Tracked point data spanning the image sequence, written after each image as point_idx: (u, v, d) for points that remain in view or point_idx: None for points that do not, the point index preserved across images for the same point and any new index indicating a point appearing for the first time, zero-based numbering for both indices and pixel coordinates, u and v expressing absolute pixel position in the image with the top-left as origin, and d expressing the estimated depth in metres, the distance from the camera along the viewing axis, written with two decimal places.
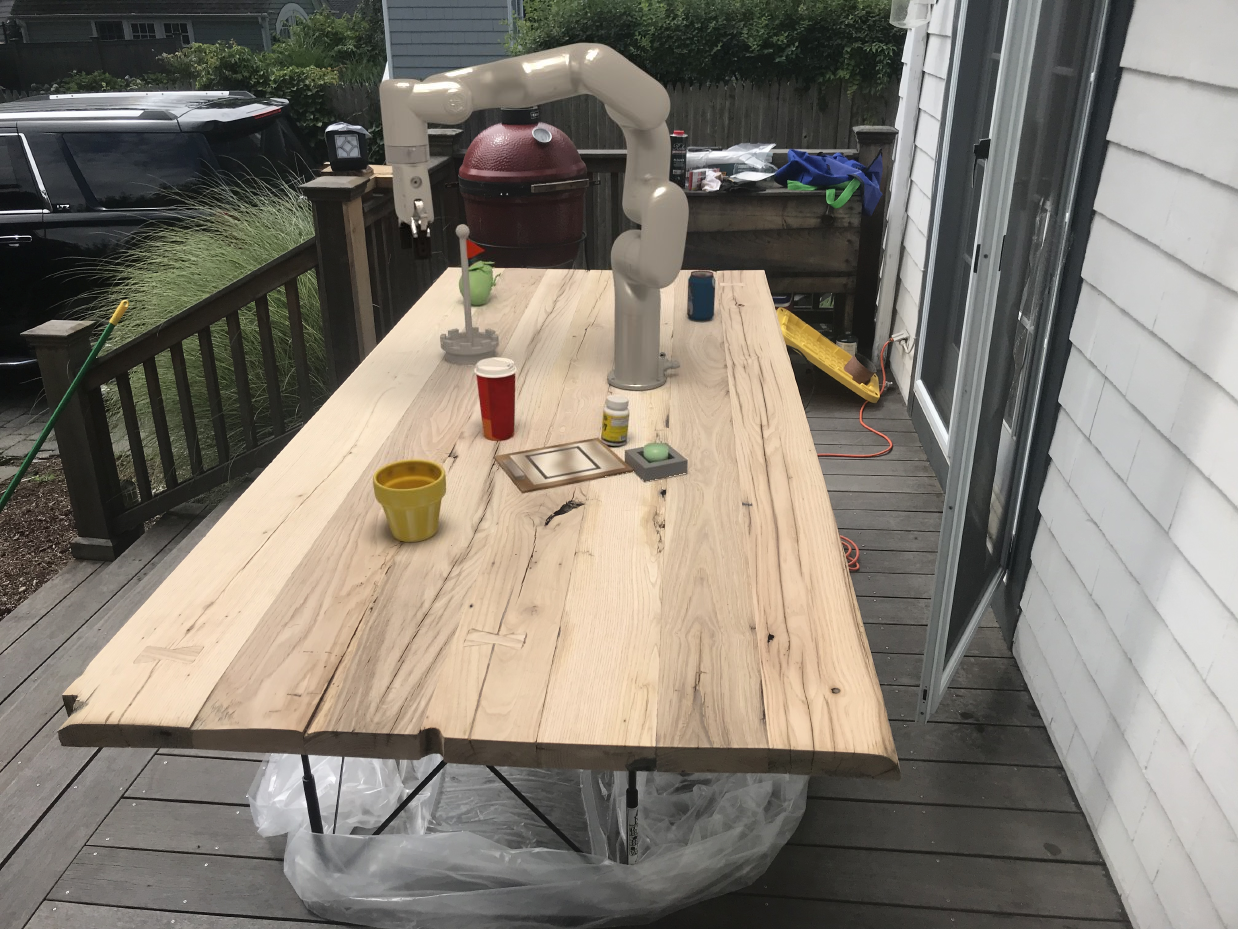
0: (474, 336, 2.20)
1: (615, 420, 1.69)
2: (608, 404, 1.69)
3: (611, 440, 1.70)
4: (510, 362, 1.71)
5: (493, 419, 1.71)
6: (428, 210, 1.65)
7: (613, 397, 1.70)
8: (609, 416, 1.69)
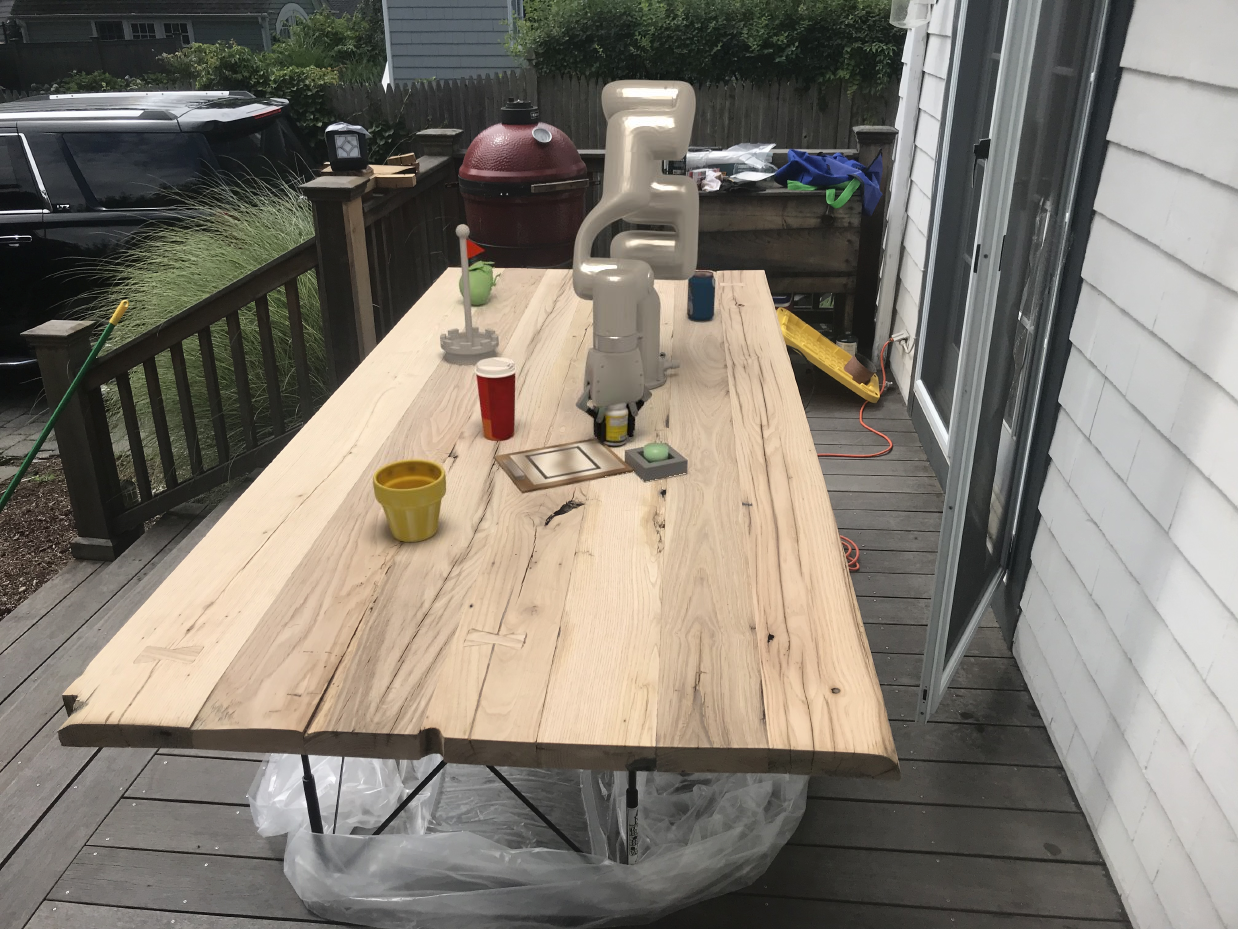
0: (474, 336, 2.20)
1: (614, 420, 1.69)
2: None
3: (611, 439, 1.70)
4: (510, 362, 1.71)
5: (493, 419, 1.71)
6: None
7: None
8: (608, 416, 1.69)
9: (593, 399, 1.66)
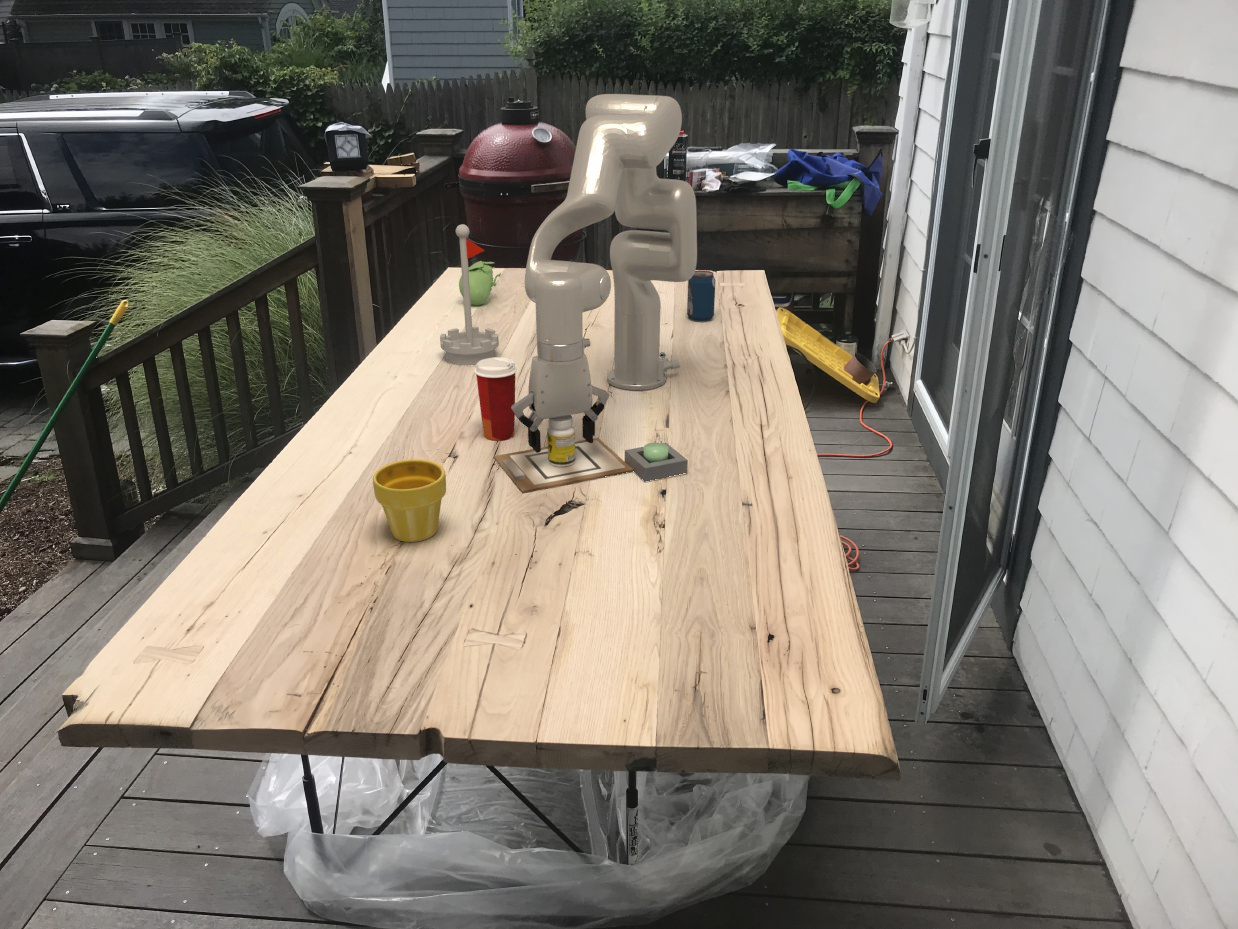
0: (474, 336, 2.20)
1: (559, 441, 1.60)
2: (551, 424, 1.60)
3: (558, 461, 1.62)
4: (510, 362, 1.71)
5: (493, 419, 1.71)
6: None
7: None
8: (553, 437, 1.60)
9: (537, 410, 1.56)
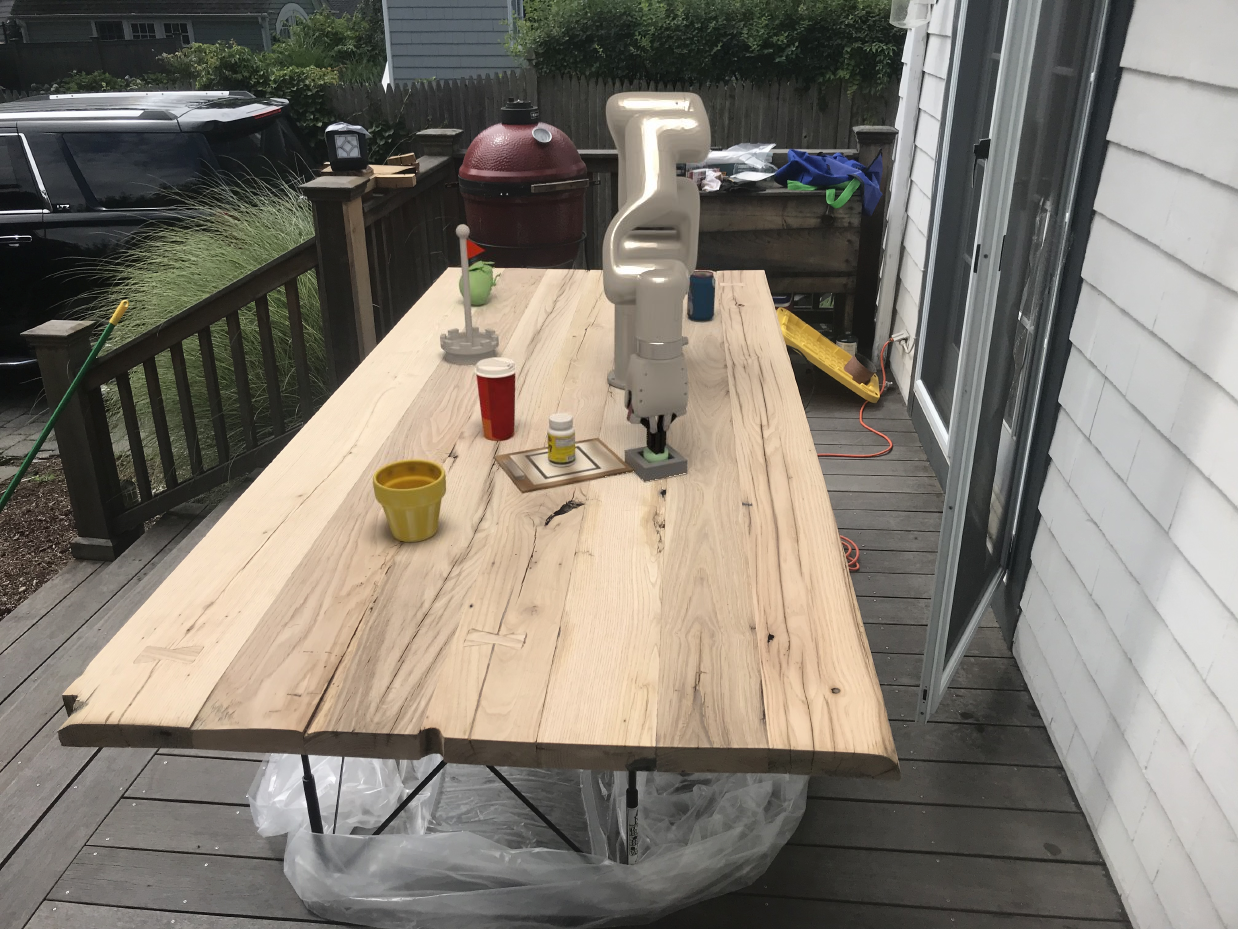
0: (474, 336, 2.20)
1: (559, 441, 1.60)
2: (551, 424, 1.60)
3: (558, 461, 1.62)
4: (510, 362, 1.71)
5: (493, 419, 1.71)
6: None
7: (556, 416, 1.61)
8: (553, 437, 1.60)
9: (635, 409, 1.54)
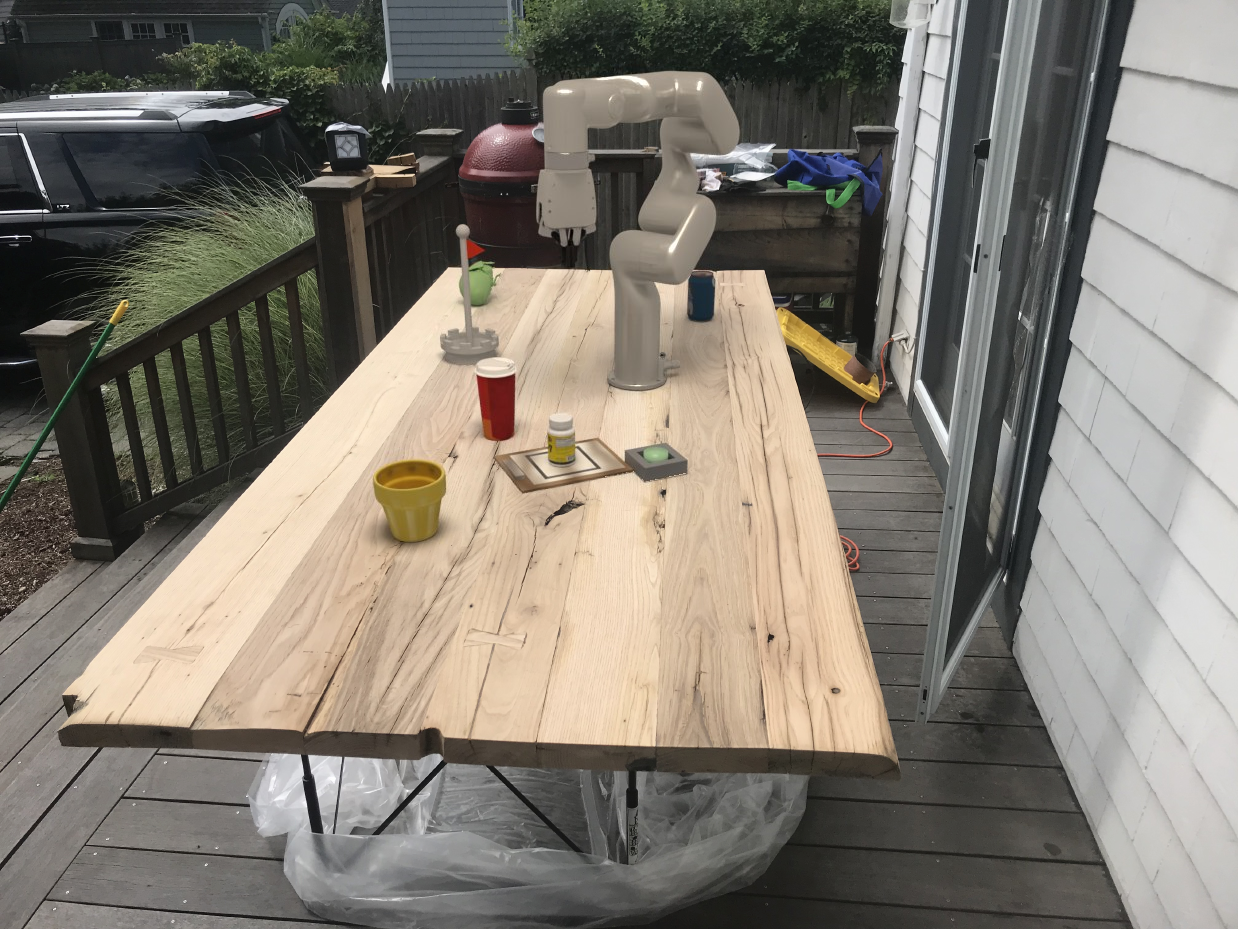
0: (474, 336, 2.20)
1: (559, 441, 1.60)
2: (551, 424, 1.60)
3: (558, 461, 1.62)
4: (510, 362, 1.71)
5: (493, 419, 1.71)
6: None
7: (556, 416, 1.61)
8: (553, 437, 1.60)
9: (545, 220, 1.66)
